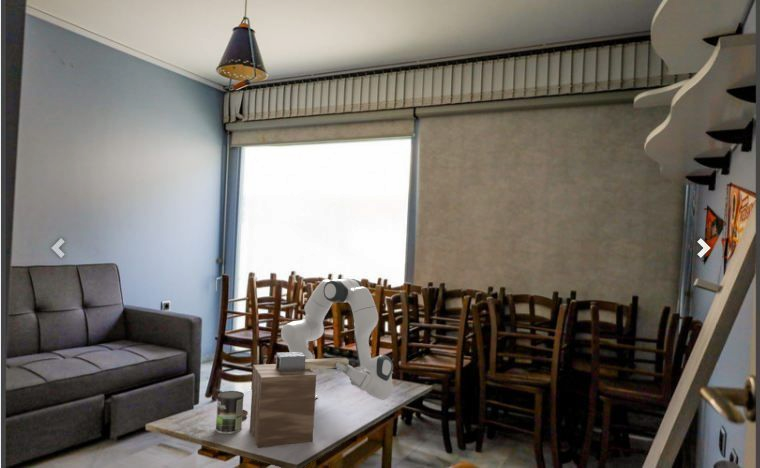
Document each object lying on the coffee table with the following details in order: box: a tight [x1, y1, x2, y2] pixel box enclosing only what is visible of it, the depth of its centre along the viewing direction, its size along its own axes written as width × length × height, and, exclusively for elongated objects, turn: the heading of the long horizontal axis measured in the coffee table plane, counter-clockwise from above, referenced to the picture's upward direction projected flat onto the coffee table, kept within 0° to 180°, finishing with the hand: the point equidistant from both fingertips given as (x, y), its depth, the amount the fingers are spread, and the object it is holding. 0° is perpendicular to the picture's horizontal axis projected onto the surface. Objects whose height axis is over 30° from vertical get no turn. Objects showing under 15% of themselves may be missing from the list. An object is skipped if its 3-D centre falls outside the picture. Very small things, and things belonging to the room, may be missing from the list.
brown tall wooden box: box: [249, 363, 317, 449], centre depth 198 cm, size 20×21×26 cm
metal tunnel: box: [275, 351, 306, 372], centre depth 199 cm, size 8×10×6 cm
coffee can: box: [215, 390, 245, 435], centre depth 201 cm, size 10×10×14 cm
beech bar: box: [279, 357, 350, 370], centre depth 203 cm, size 4×28×3 cm, turn 113°
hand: (333, 361), depth 206 cm, fingers closed on beech bar, 4 cm apart
